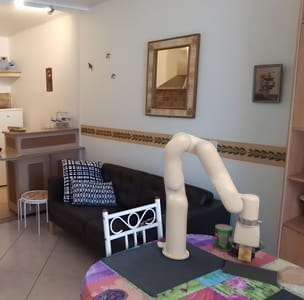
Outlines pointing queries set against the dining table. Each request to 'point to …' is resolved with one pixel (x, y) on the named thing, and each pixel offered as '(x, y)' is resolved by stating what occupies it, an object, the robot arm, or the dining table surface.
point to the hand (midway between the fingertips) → (244, 257)
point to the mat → (250, 272)
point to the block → (245, 253)
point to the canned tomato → (223, 237)
